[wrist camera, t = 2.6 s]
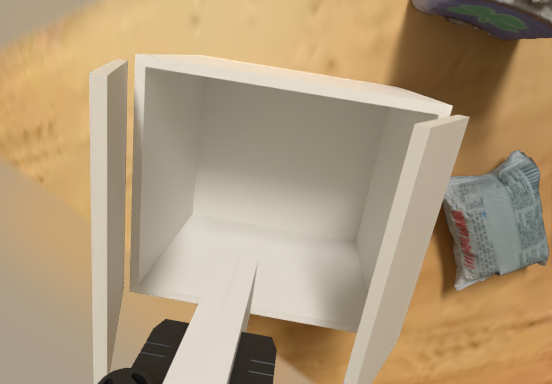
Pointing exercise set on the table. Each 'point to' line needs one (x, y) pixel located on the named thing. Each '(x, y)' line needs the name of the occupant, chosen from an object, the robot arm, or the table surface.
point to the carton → (266, 181)
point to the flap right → (405, 242)
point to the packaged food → (496, 220)
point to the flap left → (107, 205)
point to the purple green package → (495, 16)
